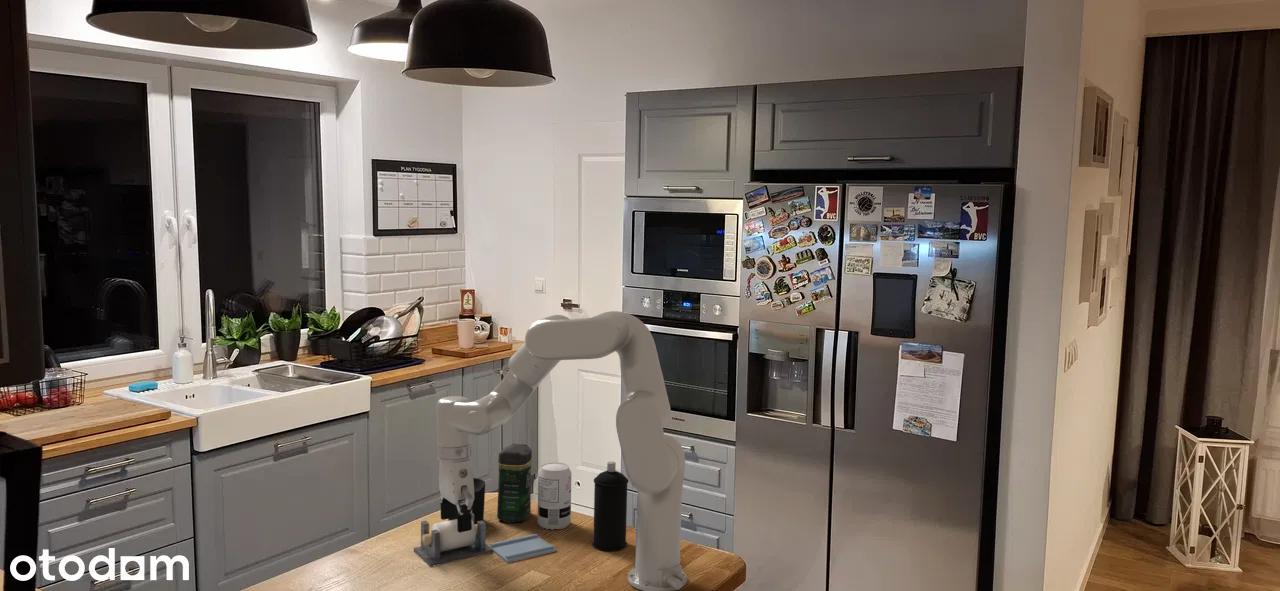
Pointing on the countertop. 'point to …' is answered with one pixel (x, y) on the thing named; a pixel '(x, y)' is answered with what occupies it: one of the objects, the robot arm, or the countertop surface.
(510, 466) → the coffee jar
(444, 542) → the paper roll
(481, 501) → the pen holder
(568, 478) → the supplement can
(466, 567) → the countertop surface
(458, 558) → the holder
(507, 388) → the robot arm
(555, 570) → the countertop surface
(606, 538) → the aerosol can
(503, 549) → the rest
